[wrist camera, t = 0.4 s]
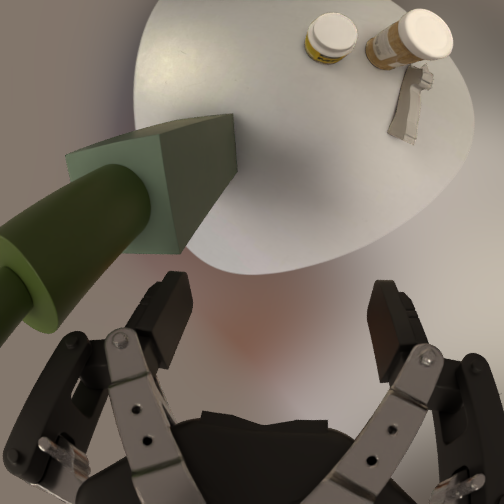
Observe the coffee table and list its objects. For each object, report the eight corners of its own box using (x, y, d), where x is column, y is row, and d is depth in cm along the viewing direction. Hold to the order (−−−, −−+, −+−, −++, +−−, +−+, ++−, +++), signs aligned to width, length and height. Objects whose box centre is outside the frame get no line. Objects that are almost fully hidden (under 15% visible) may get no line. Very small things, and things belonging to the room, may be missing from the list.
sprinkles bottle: (394, 76, 25) (450, 68, 13) (360, 61, 25) (401, 40, 13) (402, 46, 22) (458, 26, 11) (368, 30, 22) (410, -3, 11)
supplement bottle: (312, 69, 26) (319, 58, 19) (298, 34, 24) (300, 14, 17) (351, 60, 25) (369, 48, 18) (336, 26, 23) (350, 5, 16)
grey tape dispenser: (387, 132, 29) (407, 62, 23) (396, 137, 29) (416, 67, 23) (403, 140, 24) (426, 58, 19) (414, 145, 24) (437, 64, 19)
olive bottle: (80, 169, 15) (-84, 286, 4) (142, 158, 14) (-62, 308, 3) (98, 237, 17) (-25, 377, 6) (158, 237, 17) (30, 420, 6)
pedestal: (174, 120, 31) (64, 155, 14) (232, 113, 30) (159, 133, 13) (182, 175, 35) (91, 253, 18) (237, 171, 34) (180, 254, 17)
